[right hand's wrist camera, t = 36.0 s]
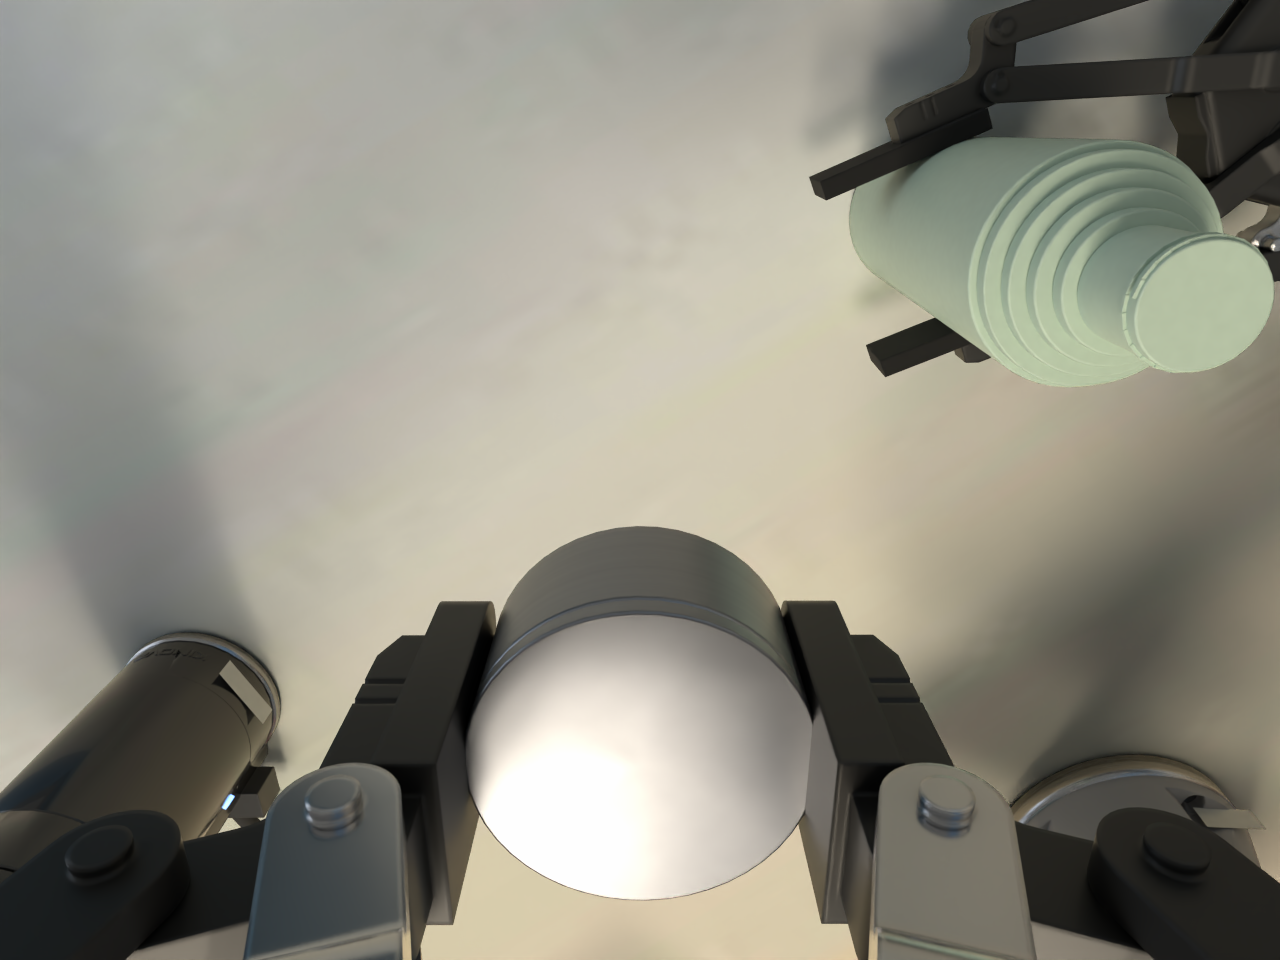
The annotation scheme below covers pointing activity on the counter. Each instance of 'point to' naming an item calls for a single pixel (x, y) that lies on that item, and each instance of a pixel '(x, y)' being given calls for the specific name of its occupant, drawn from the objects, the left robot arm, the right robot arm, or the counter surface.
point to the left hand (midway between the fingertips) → (848, 277)
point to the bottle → (1066, 257)
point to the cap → (640, 718)
